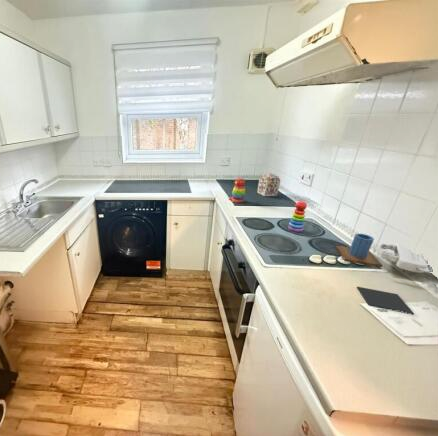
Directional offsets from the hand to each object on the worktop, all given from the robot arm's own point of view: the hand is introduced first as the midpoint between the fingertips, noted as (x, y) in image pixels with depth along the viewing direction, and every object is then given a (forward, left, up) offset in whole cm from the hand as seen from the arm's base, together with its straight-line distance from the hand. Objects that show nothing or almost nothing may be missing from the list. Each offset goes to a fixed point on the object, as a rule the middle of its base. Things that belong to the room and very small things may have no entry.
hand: (381, 249), depth 101 cm
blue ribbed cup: (+6, -2, -5) cm, 8 cm away
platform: (+6, -2, -8) cm, 10 cm away
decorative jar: (+36, -98, -8) cm, 105 cm away
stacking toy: (+27, -24, -8) cm, 37 cm away
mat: (+7, +26, -8) cm, 28 cm away
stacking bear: (+59, -72, -8) cm, 94 cm away
